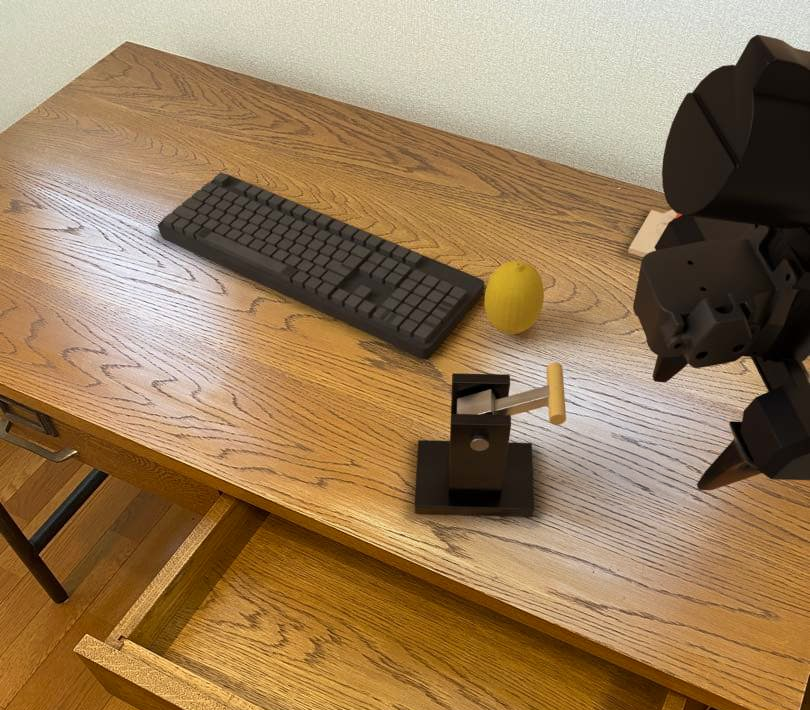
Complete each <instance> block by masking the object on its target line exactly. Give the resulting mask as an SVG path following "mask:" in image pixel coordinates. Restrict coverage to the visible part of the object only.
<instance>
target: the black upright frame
mask: <svg viewBox="0 0 810 710" xmlns="http://www.w3.org/2000/svg"><path fill="white" fill-rule="evenodd" d="M489 389H491V390H492V392H493V393H494V395H495V397H496V399H501V398H504V397H508V396H510V389H511V375H510V374H503V373H452V374H451V397H450V398H451V399H450V424H449V425H450V429H449V440H428V439H427V440H425V439H419V440H417V455H416V457H417V458H416V469H415V470H416V471H415V488H414V514H416V515H417V514H418V515H419V514H420V515H452V516H453V515H455V516H482V517H483V516H487V517H517V518H519V517H520V518H524V517H525V518H533V517H534V513H535V486H534V484H535V483H534V461H533V443H532V442H511V441H510V436H511V430H512V429H511V428H512V415H485V414H457V399H458V398H461V397H465V396H468V395H472V394H475V393H479V392H482V391H486V390H489Z"/></svg>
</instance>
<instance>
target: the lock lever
mask: <svg viewBox="0 0 810 710" xmlns="http://www.w3.org/2000/svg"><path fill="white" fill-rule="evenodd" d="M563 367H564V366H563V365H562V364H561V363H559V362H552V363H551V362H550V363H549V364H548V365H546V368H545V372H546V385H544V386H540V387H537V388H533V389H530V390H525V391H522V392H518V393H515V394H511V395H509V396H508V397H504V398H501V399H496V397H495V395H494V393H493V392H492V390H491V389H489V390H486V391H482V392H479V393H475V394H472V395H468V396H465V397H461V398H458V399H457V414H485V415H511V416H514V415H519V414H522V413H526V412H530V411H534V410H537V409H541V408H544V407H548V422H550V424H552V425H554V426H558V425H559V426H560V425H563V424H564V423H565V422H566V421H567V410H566V395H565V382H564V368H563Z"/></svg>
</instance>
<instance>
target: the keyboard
mask: <svg viewBox="0 0 810 710" xmlns="http://www.w3.org/2000/svg"><path fill="white" fill-rule="evenodd" d="M157 228H158V231H159V233H160V237H161V238H162V239H163V240H165V241H167V242H169V243H172V244H173V245H175V246H178V247H180V248H183V249H185V250H187V251H189V252H191V253H193V254H196V255H198V256H200V257H202V258H203V259H206V260H209V261H211V262H213V263H215V264H216V265H219V266H222V267H223V268H226V269H228V270H231V271H232V272H234V273H236V274H239V275H241V276H243V277H245V278H247V279H249V280H251V281H254V282H256V283H258V284H260V285H262V286H265V287H267V288H269V289H270V290H273V291H275V292H277V293H280V294H282V295H284V296H286V297H288V298H289V299H293V300H294V301H297V302H299V303H301V304H303V305H306V306H308V307H310V308H311V309H314V310H316V311H319V312H321V313H323V314H325V315H327V316H329V317H332V318H334V319H336V320H338V321H339V322H342V323H345V324H347V325H349V326H351V327H353V328H355V329H358V330H360V331H362V332H363V333H366V334H368V335H371V336H372V337H375V338H377V339H379V340H381V341H384V342H386V343H388V344H390V345H392V346H394V347H396V348H399V349H400V350H403V351H405V352H407V353H409V354H411V355H414V356H415V357H418V358H421V359H424V360H425V359H429V358H431V356H433V354H434V352H436V350H438V348H440V347H441V345H442V344H443V343H444V342H445V340H446V339H447V338H448V336H449V335H451V333H452V332H453V331H454V330H455V329H456V328H457V326H458V325H459V324H460V323H461V321H462V320H464V318H465V317H466V316H467V315H468V313H469V312H470V311H471V310H472V309H473V307H474V306H475V305H477V303H478V302H479V301H480V299H481V298H482V297H483V296H484V294H485V281H484V279H482V278H480V277H478V276H475V275H473V274H470V273H467V272H465V271H463V270H461V269H458V268H456V267H453V266H451V265H449V264H446V263H444V262H441V261H438V260H437V259H433V258H432V257H429V256H427V255H424V254H421V253H419V252H417V251H414V250H412V249H409V248H407V247H405V246H403V245H401V244H398V243H395V242H392V241H391V240H388V239H385V238H383V237H381V236H378V235H376V234H373V233H371V232H369V231H366V230H364V229H362V228H359V227H356V226H354V225H352V224H349V223H347V222H344V221H342V220H339V219H337V218H334V217H332V216H330V215H327V214H325V213H322V212H320V211H317V210H315V209H313V208H311V207H308V206H305V205H304V204H301V203H298V202H296V201H294V200H291V199H288V198H286V197H284V196H282V195H278V194H276V193H273V192H271V191H269V190H267V189H264V188H261V187H259V186H257V185H254V184H252V183H250V182H248V181H245V180H243V179H240V178H237V177H236V176H233V175H230V174H227V173H224V172H221V171H220V172H219V173H217V174H216V175H215V176H214V177H213V179H212V180H211V181H209V182H206V183H205V184H204V185H203V186H202V187H201V188H200V189H197V190H196V191H195V192H194V193H193V194H191V197H188V198H187V199H185V200H184V201H183V202H182V203H181V204H180V205H178V206H177V207H175V208H174V209H173V210H172V212H170V213H168V214H167V215H165V216H164V217H163V218H162V220H161V221H160V222H159V223H158V224H157Z"/></svg>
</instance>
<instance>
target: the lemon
mask: <svg viewBox="0 0 810 710" xmlns="http://www.w3.org/2000/svg"><path fill="white" fill-rule="evenodd" d="M543 284H544V283H543V280H542V277H541V275H540V273H539V271H538V270H537V269H536V268H535V267H534V266H533V265H531V264H530V263H528V262H526V261H522V260H512V261H507V262H505V263H503V264H501V265H500V266H498V267H497V268H496V269H495V271H494V272H493V273H492V274H491V275H490V278H489V280H488V283H487V285H486V288H485V291H484V310H485V314H486V317H487V320H488V321H489V322H490V324H491V325H492V327H494V328H495V329H497V331H500V332H502V333H504V334H509V335H514V334H515V335H516V334H520V333H523V332H525V331H527V330H529V329H530V328H531V327H532V326H533V325H534V324H535V323H536V322H537V320H538V318H539V317H540V315H541V313H542V309H543V304H544V299H545V292H544V291H545V290H544V285H543Z"/></svg>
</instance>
